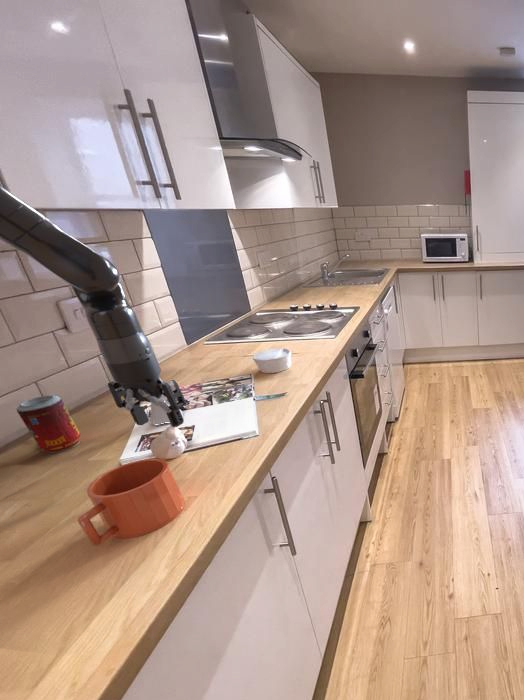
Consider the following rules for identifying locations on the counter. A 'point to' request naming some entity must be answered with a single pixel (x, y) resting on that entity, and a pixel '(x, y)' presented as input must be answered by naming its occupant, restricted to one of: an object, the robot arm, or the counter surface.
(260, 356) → the ramekin
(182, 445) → the garlic bulb
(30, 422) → the soda can
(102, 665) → the counter surface
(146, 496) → the mug
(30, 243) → the robot arm
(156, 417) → the flask
